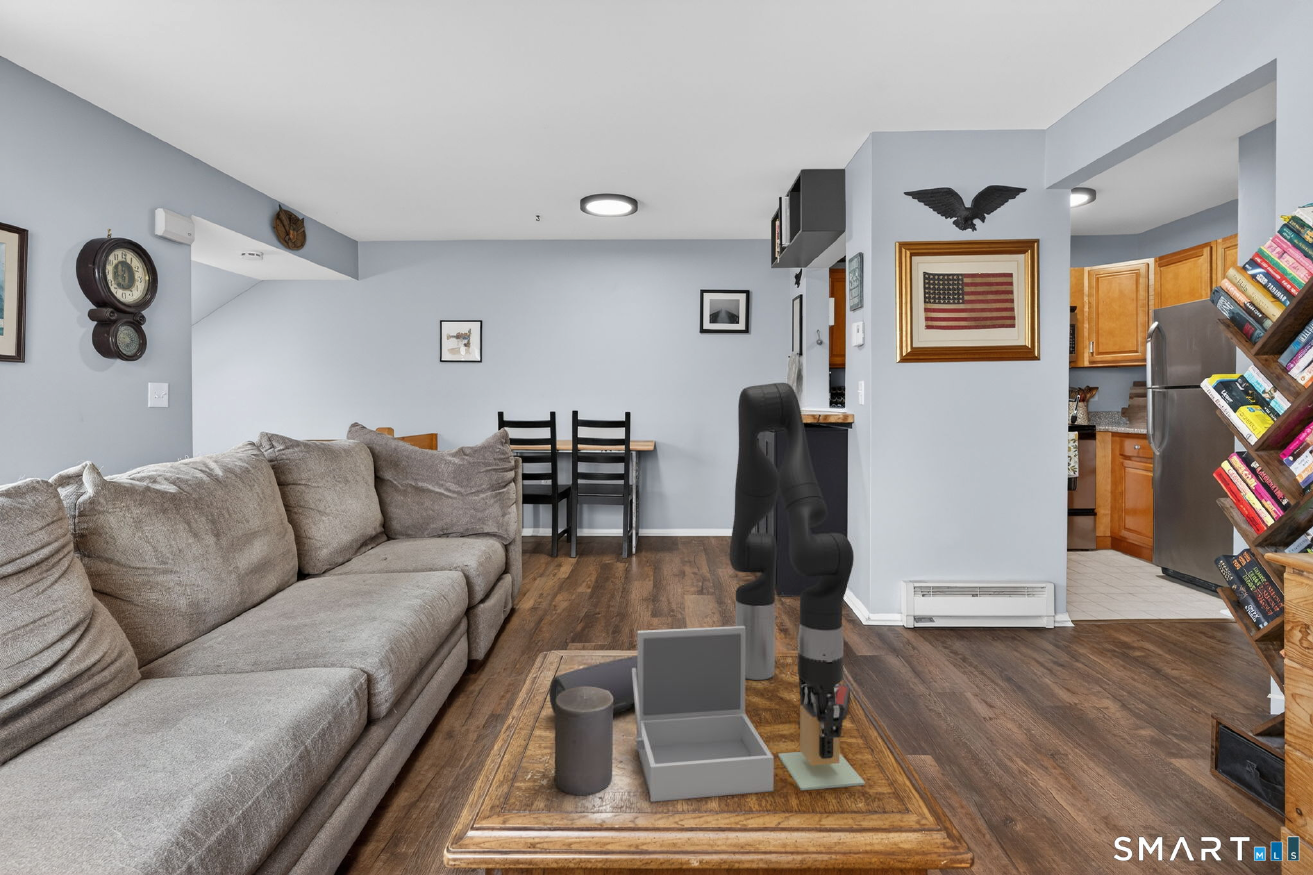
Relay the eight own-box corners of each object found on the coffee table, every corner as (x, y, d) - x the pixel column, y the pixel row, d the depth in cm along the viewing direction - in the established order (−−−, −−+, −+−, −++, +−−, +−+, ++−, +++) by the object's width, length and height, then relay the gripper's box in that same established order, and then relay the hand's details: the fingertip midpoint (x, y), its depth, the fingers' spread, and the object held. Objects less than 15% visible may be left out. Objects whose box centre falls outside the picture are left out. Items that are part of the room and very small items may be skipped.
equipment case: (630, 746, 119) (630, 630, 118) (742, 738, 122) (743, 624, 122) (643, 802, 101) (643, 666, 101) (773, 790, 105) (774, 658, 104)
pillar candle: (542, 779, 108) (542, 690, 107) (586, 757, 115) (587, 673, 114) (580, 803, 101) (581, 709, 101) (625, 778, 108) (626, 690, 108)
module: (799, 750, 113) (800, 703, 113) (827, 748, 114) (827, 701, 114) (811, 765, 108) (811, 716, 108) (839, 763, 109) (839, 714, 109)
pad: (778, 755, 116) (778, 753, 116) (836, 751, 117) (836, 748, 117) (801, 790, 105) (801, 787, 105) (865, 784, 107) (865, 782, 107)
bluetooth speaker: (642, 690, 144) (642, 645, 144) (666, 705, 136) (666, 658, 136) (547, 716, 131) (547, 667, 131) (568, 734, 123) (568, 682, 123)
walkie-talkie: (810, 691, 145) (795, 730, 126) (810, 671, 145) (795, 708, 126) (851, 697, 142) (841, 738, 123) (851, 677, 141) (842, 715, 123)
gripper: (784, 637, 117) (783, 731, 118) (816, 667, 103) (815, 773, 103) (824, 635, 118) (823, 728, 119) (860, 664, 104) (859, 769, 104)
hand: (819, 748), depth 111 cm, fingers closed on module, 5 cm apart
